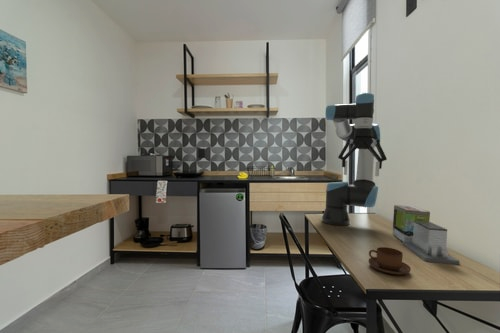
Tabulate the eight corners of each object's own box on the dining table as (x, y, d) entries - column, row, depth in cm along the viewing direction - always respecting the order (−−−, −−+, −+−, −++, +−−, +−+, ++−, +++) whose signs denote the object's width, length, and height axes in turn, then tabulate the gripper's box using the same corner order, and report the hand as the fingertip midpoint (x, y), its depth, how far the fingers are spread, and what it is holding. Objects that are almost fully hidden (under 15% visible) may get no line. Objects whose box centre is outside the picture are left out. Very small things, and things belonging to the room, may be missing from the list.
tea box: (429, 245, 111) (430, 211, 110) (403, 243, 113) (405, 209, 112) (414, 235, 125) (415, 205, 125) (391, 233, 127) (393, 204, 127)
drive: (412, 244, 107) (414, 220, 107) (428, 246, 106) (429, 221, 106) (427, 255, 95) (429, 228, 95) (445, 256, 94) (447, 229, 94)
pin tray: (402, 244, 111) (403, 234, 111) (430, 246, 109) (431, 236, 109) (425, 261, 92) (425, 249, 92) (459, 264, 90) (460, 252, 90)
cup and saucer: (369, 273, 80) (371, 254, 80) (366, 260, 91) (367, 242, 91) (414, 281, 76) (415, 260, 76) (405, 266, 87) (406, 248, 87)
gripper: (335, 126, 114) (333, 174, 115) (396, 127, 110) (393, 177, 111) (333, 128, 122) (331, 173, 122) (389, 130, 118) (387, 176, 118)
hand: (360, 175), depth 116 cm, fingers open, 13 cm apart
